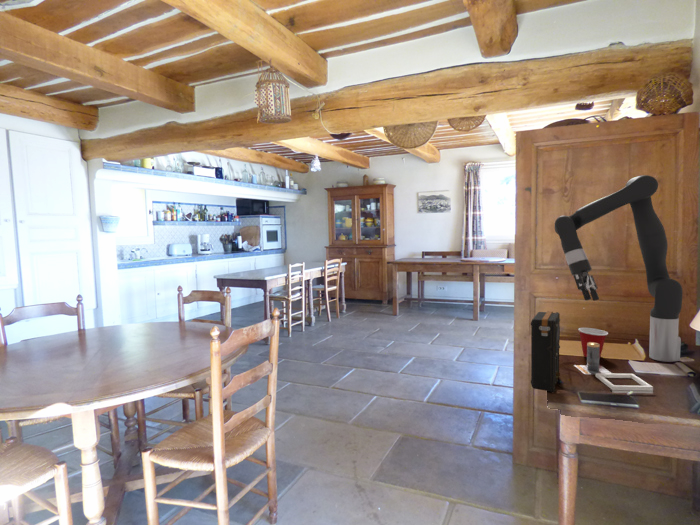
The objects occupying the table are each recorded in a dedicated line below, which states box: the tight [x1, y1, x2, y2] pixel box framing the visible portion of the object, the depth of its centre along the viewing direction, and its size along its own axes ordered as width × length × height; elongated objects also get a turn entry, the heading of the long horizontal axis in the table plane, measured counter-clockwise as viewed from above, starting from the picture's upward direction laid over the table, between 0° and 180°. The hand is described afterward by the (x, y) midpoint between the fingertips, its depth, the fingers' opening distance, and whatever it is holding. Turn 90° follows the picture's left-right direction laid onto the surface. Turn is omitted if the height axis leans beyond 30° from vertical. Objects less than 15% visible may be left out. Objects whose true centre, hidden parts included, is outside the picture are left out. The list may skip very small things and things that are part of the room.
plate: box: [573, 364, 612, 375], centre depth 158 cm, size 10×10×1 cm
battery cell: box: [586, 342, 600, 372], centre depth 157 cm, size 4×4×10 cm
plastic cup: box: [577, 327, 609, 359], centre depth 173 cm, size 11×11×12 cm
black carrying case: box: [530, 310, 561, 393], centre depth 147 cm, size 16×9×25 cm, turn 148°
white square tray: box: [595, 372, 654, 394], centre depth 144 cm, size 12×12×2 cm
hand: (592, 300), depth 166 cm, fingers open, 8 cm apart
